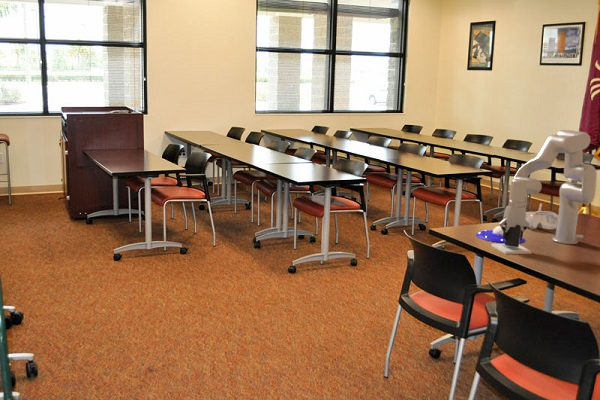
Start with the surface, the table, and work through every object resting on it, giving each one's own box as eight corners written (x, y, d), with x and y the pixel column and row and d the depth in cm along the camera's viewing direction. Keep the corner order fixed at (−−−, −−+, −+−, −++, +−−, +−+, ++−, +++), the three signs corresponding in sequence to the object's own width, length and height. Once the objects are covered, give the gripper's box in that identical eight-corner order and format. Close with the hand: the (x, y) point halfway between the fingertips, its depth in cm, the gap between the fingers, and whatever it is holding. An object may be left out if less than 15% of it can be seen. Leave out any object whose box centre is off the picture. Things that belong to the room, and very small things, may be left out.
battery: (519, 246, 321) (522, 223, 319) (518, 247, 318) (521, 225, 315) (505, 243, 324) (507, 221, 322) (504, 245, 320) (506, 223, 318)
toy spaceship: (476, 241, 335) (477, 228, 334) (475, 230, 359) (476, 218, 358) (527, 247, 330) (528, 233, 328) (522, 235, 354) (524, 223, 352)
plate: (516, 245, 329) (516, 243, 329) (531, 253, 316) (531, 251, 316) (491, 245, 326) (491, 243, 326) (505, 253, 313) (505, 251, 312)
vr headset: (529, 231, 365) (532, 206, 362) (519, 226, 376) (522, 201, 373) (559, 231, 368) (562, 206, 365) (548, 226, 379) (551, 202, 376)
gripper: (528, 202, 322) (524, 237, 326) (496, 202, 318) (492, 237, 322) (536, 205, 315) (532, 241, 318) (504, 205, 311) (500, 241, 315)
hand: (512, 239), depth 320 cm, fingers closed on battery, 7 cm apart
